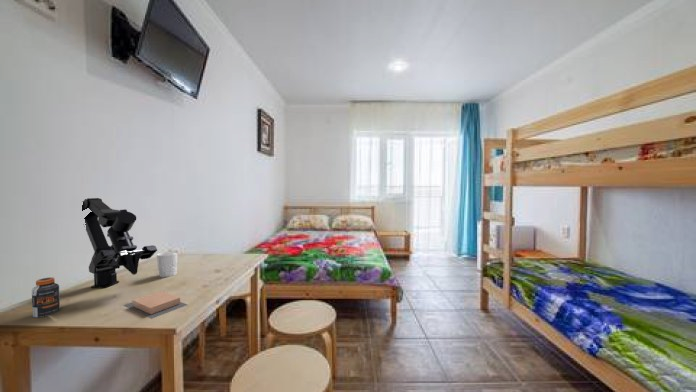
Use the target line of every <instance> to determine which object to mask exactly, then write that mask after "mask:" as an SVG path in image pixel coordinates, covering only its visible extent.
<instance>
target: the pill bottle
mask: <svg viewBox="0 0 696 392" xmlns="http://www.w3.org/2000/svg"><path fill="white" fill-rule="evenodd" d="M60 300H61V299H60V285H59V284H58V283H55V277H43V278H39V279H37V280H36V281H35V286H34V287H33V288H32V289H31V302H32V304H31V305H32V307H31V308H32V317H34V318H44V316H45V317H48V315H49V316H51V315H52V314H55V313H58V312H59V311H61V301H60Z"/></svg>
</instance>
